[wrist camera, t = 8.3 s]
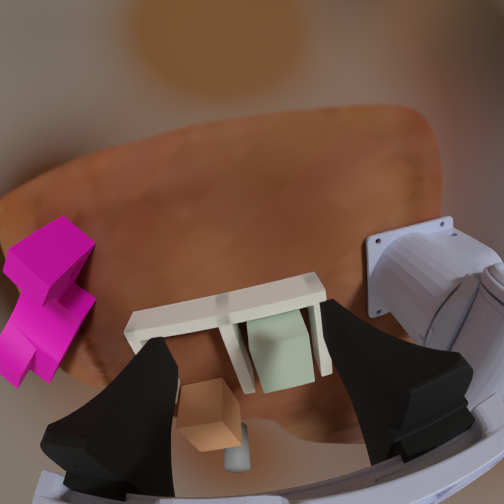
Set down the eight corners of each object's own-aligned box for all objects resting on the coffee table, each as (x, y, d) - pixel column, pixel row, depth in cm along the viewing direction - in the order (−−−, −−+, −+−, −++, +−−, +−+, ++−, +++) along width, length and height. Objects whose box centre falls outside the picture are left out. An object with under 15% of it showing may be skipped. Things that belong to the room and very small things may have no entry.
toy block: (64, 356, 25) (38, 404, 18) (22, 321, 23) (-11, 364, 16) (120, 261, 21) (81, 312, 14) (64, 214, 19) (8, 249, 12)
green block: (292, 292, 23) (308, 334, 18) (300, 338, 25) (314, 381, 20) (244, 304, 23) (249, 348, 18) (257, 348, 25) (263, 393, 20)
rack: (314, 271, 22) (325, 290, 20) (323, 352, 26) (332, 373, 23) (133, 311, 23) (123, 332, 20) (171, 382, 26) (167, 404, 23)
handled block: (222, 376, 26) (222, 425, 21) (256, 429, 30) (261, 469, 25) (181, 385, 26) (175, 432, 21) (222, 435, 30) (223, 475, 25)
